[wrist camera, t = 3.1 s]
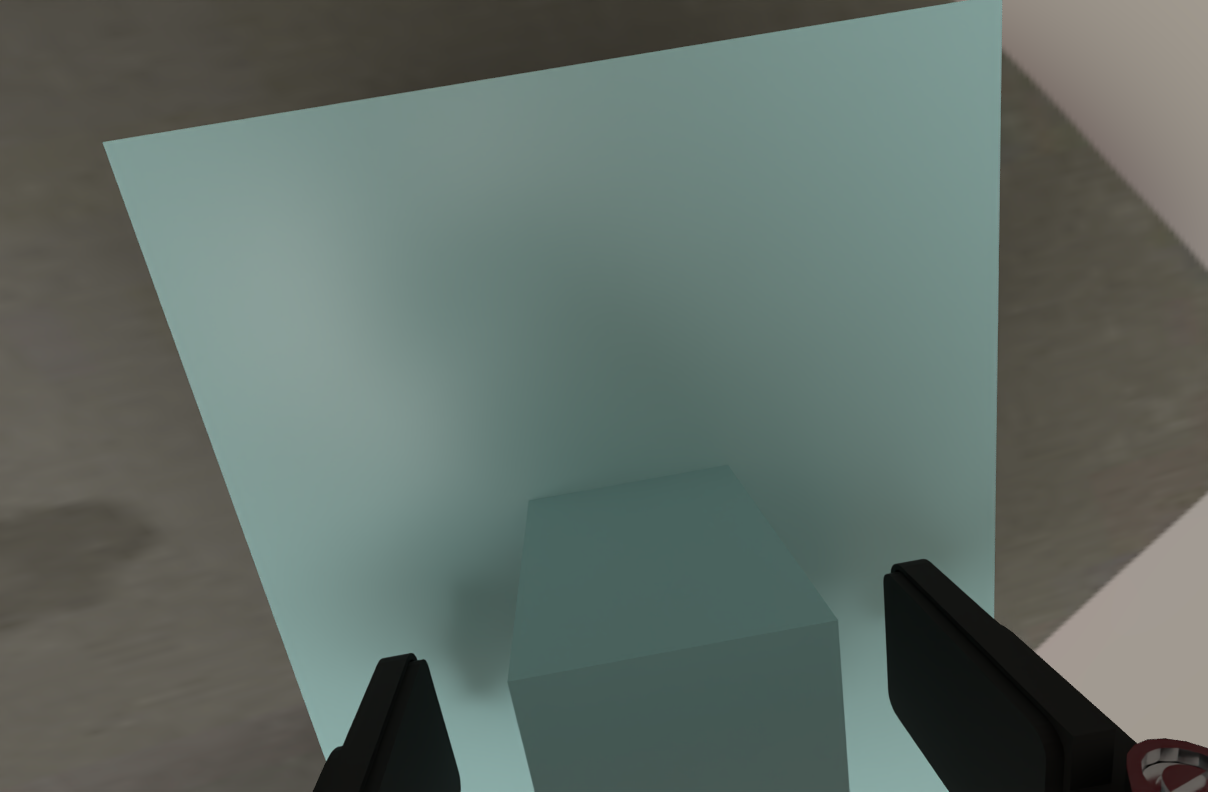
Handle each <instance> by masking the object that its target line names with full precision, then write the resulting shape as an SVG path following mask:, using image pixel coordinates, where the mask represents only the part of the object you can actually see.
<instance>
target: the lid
mask: <svg viewBox="0 0 1208 792" xmlns="http://www.w3.org/2000/svg"><path fill="white" fill-rule="evenodd" d="M1001 54H1002V0H967V1H961V2H955V3H949V4H943V5H937V6H930V7H924V8H918V9H912V10H906V11H900V12H894V13H888V14H882V15H876V16H869V17H863V18H857V19H851V20H845V21H839V22H833V23H827V24H821V25H815V26H808V27H802V28H796V29H790V30H784V31H778V32H772V33H766V34H760V35H754V36H747V37H741V38H735V39H729V40H723V41H717V42H711V43H705V44H699V45H693V46H686V47H680V48H674V49H668V50H662V51H656V52H650V53H644V54H638V55H632V56H625V57H619V58H613V59H607V60H601V61H595V62H589V63H583V64H577V65H571V66H564V67H558V68H552V69H546V70H540V71H534V72H528V73H522V74H516V75H510V76H503V77H497V78H491V79H485V80H479V81H473V82H467V83H461V84H455V85H449V86H442V87H436V88H430V89H424V90H418V91H412V92H406V93H400V94H394V95H388V96H381V97H375V98H369V99H363V100H357V101H351V102H345V103H339V104H333V105H327V106H320V107H314V108H308V109H302V110H296V111H290V112H284V113H278V114H272V115H266V116H259V117H253V118H247V119H241V120H235V121H229V122H223V123H217V124H211V125H205V126H198V127H192V128H186V129H180V130H174V131H168V132H162V133H156V134H150V135H144V136H137V137H131V138H125V139H119V140H113V141H107V142H103V145H104V148H105V150H106V153H107V156H108V159H109V161H110V164H111V167H112V170H113V173H114V175H115V178H116V181H117V184H118V186H119V189H120V192H121V195H122V197H123V200H124V203H125V206H126V209H127V211H128V214H129V217H130V220H131V222H132V225H133V228H134V231H135V233H136V236H137V239H138V242H139V245H140V247H141V250H142V253H143V256H144V258H145V261H146V264H147V267H148V269H149V272H150V275H151V278H152V280H153V283H154V286H155V289H156V292H157V294H158V297H159V300H160V303H161V305H162V308H163V311H164V314H165V316H166V319H167V322H168V325H169V328H170V330H171V333H172V336H173V339H174V341H175V344H176V347H177V350H178V352H179V355H180V358H181V361H182V364H183V366H184V369H185V372H186V375H187V377H188V380H189V383H190V386H191V388H192V391H193V394H194V397H195V399H196V402H197V405H198V408H199V411H200V413H201V416H202V419H203V422H204V424H205V427H206V430H207V433H208V435H209V438H210V441H211V444H212V447H213V449H214V452H215V455H216V458H217V460H218V463H219V466H220V469H221V471H222V474H223V477H224V480H225V483H226V485H227V488H228V491H229V494H230V496H231V499H232V502H233V505H234V507H235V510H236V513H237V516H238V518H239V521H240V524H241V527H242V530H243V532H244V535H245V538H246V541H247V543H248V546H249V549H250V552H251V554H252V557H253V560H254V563H255V566H256V568H257V571H258V574H259V577H260V579H261V582H262V585H263V588H264V590H265V593H266V596H267V599H268V602H269V604H270V607H271V610H272V613H273V615H274V618H275V621H276V624H277V626H278V629H279V632H280V635H281V637H282V640H283V643H284V646H285V649H286V651H287V654H288V657H289V660H290V662H291V665H292V668H293V671H294V673H295V676H296V679H297V682H298V685H299V687H300V690H301V693H302V696H303V698H304V701H305V704H306V707H307V709H308V712H309V715H310V718H311V721H312V723H313V726H314V729H315V732H316V734H317V737H318V740H319V743H320V745H321V748H322V751H323V754H324V756H325V759H326V761H327V759H328V757H329V755H330V754H331V752H332V751H333V750H334V749H335V748H336V747H339V746H343V743H344V741H345V739H346V736H347V734H348V732H349V729H350V727H351V725H352V722H353V720H354V718H355V715H356V713H357V710H358V708H359V706H360V703H361V701H362V699H363V696H364V694H365V692H366V689H367V687H368V685H369V682H370V680H371V678H372V675H373V673H374V671H375V668H376V666H377V664H378V662H379V660H380V659H382V658H386V657H391V656H397V655H402V654H408V653H413V654H415V656H416V657H417V660H422V659H425V660H426V661H427V663H428V666H429V670H430V673H431V677H432V680H433V684H434V687H435V691H436V694H437V697H438V701H439V704H440V708H441V711H442V715H443V718H444V722H445V725H446V729H447V732H448V736H449V739H450V743H451V746H452V750H453V753H454V757H455V760H456V764H457V767H458V770H459V775H460V781H461V792H949V791H948V790H947V788H946V787H945V785H944V784H943V782H942V781H941V780H940V778H939V777H938V775H937V774H936V772H935V771H934V769H933V768H932V767H931V765H930V764H929V762H928V761H927V759H926V758H925V756H924V755H923V753H922V752H921V751H920V749H919V748H918V746H917V745H916V743H915V742H914V740H913V739H912V738H911V736H910V735H909V733H908V732H907V730H906V729H905V727H904V726H903V724H902V723H901V722H900V720H899V719H898V717H897V716H896V714H895V712H894V710H893V708H892V706H891V703H890V699H889V695H888V678H887V655H886V633H885V610H884V588H883V578H884V575H885V574H888V573H891V568H892V566H893V565H894V564H897V563H902V562H908V561H913V560H919V559H927V560H928V561H930V562H931V563H932V564H933V565H935V566H936V567H937V568H938V569H939V570H940V571H941V572H942V573H943V574H945V575H946V576H947V577H948V578H949V579H950V580H951V581H952V582H953V583H955V584H956V585H957V586H958V587H959V588H960V589H961V590H962V591H963V592H965V593H966V594H967V595H968V596H969V597H970V598H971V599H972V600H973V601H975V602H976V603H977V604H978V605H979V606H980V607H981V608H982V609H984V610H985V611H986V612H987V613H988V614H989V615H990V616H991V617H992V618H994V574H995V500H996V425H997V351H998V277H999V202H1000V128H1001Z"/></svg>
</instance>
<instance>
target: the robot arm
mask: <svg viewBox="0 0 1208 792" xmlns="http://www.w3.org/2000/svg"><path fill="white" fill-rule="evenodd" d="M883 588H884V610H885V633H886V655H887V678H888V695H889V699H890V703H891V706H892V708H893V710H894V712H895V714H896V716H897V717H898V719H899V720H900V722H901V723H902V724H903V726H904V727H905V729H906V730H907V732H908V733H909V735H910V736H911V738H912V739H913V740H914V742H915V743H916V745H917V746H918V748H919V749H920V751H921V752H922V753H923V755H924V756H925V758H926V759H927V761H928V762H929V764H930V765H931V767H932V768H933V769H934V771H935V772H936V774H937V775H938V777H939V778H940V780H941V781H942V782H943V784H944V785H945V787H946V788H947V790H948V791H949V792H1208V748H1206V747H1203V746H1200V745H1196V744H1193V743H1190V742H1187V741H1180V740H1173V739H1166V738H1163V739H1147V740H1145V741H1142V742H1140V743H1136V742H1135V741H1134V740H1132V739H1131V738H1130V737H1129V736H1128V735H1127V734H1126V733H1125V732H1123V731H1122V730H1121V729H1120V728H1119V727H1118V726H1117V725H1116V724H1115V723H1113V722H1112V721H1111V720H1110V719H1109V718H1108V717H1107V716H1105V714H1103V713H1102V712H1101V711H1100V710H1099V709H1098V708H1097V707H1096V706H1094V705H1093V704H1092V703H1091V702H1090V701H1089V700H1088V699H1087V698H1085V697H1084V696H1083V695H1082V694H1081V693H1080V692H1079V691H1078V690H1076V689H1075V688H1074V687H1073V686H1072V685H1071V684H1070V683H1069V682H1067V681H1066V680H1065V679H1064V678H1063V677H1062V676H1061V675H1060V674H1059V673H1057V672H1056V671H1055V670H1054V669H1053V668H1052V667H1051V666H1050V665H1048V664H1047V663H1046V662H1045V661H1044V660H1043V659H1042V658H1040V657H1039V656H1038V655H1037V654H1036V653H1035V652H1034V651H1033V650H1032V649H1031V648H1029V647H1028V646H1027V645H1026V644H1025V643H1024V642H1023V641H1022V640H1020V639H1019V638H1018V637H1017V636H1016V635H1015V634H1014V633H1013V632H1011V631H1010V630H1009V629H1007V628H1006V627H1004V626H1002V625H1000V624H999V623H998V622H997V621H996V620H995V619H994V618H992V617H991V616H990V615H989V614H988V613H987V612H986V611H985V610H984V609H982V608H981V607H980V606H979V605H978V604H977V603H976V602H975V601H973V600H972V599H971V598H970V597H969V596H968V595H967V594H966V593H965V592H963V591H962V590H961V589H960V588H959V587H958V586H957V585H956V584H955V583H953V582H952V581H951V580H950V579H949V578H948V577H947V576H946V575H945V574H943V573H942V572H941V571H940V570H939V569H938V568H937V567H936V566H935V565H933V564H932V563H931V562H930V561H928V560H927V559H919V560H913V561H908V562H902V563H897V564H894V565H893V566H892V568H891V573H888V574H885V575H884V578H883ZM313 792H461V781H460V775H459V770H458V767H457V764H456V760H455V757H454V753H453V750H452V746H451V743H450V739H449V736H448V732H447V729H446V725H445V722H444V718H443V715H442V711H441V708H440V704H439V701H438V697H437V694H436V691H435V687H434V684H433V680H432V677H431V673H430V670H429V666H428V663H427V661H426V660H425V659H422V660H417V657H416V656H415V654H413V653H408V654H402V655H397V656H391V657H386V658H382V659H380V660H379V662H378V664H377V666H376V668H375V671H374V673H373V675H372V678H371V680H370V682H369V685H368V687H367V689H366V692H365V694H364V696H363V699H362V701H361V703H360V706H359V708H358V710H357V713H356V715H355V718H354V720H353V722H352V725H351V727H350V729H349V732H348V734H347V736H346V739H345V741H344V743H343V746H339V747H336V748H335V749H334V750H333V751H332V752H331V754H330V755H329V757H328V759H327V761H326V763H325V765H324V767H323V770H322V772H321V774H320V776H319V779H318V781H317V783H316V786H315V788H314V790H313Z"/></svg>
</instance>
